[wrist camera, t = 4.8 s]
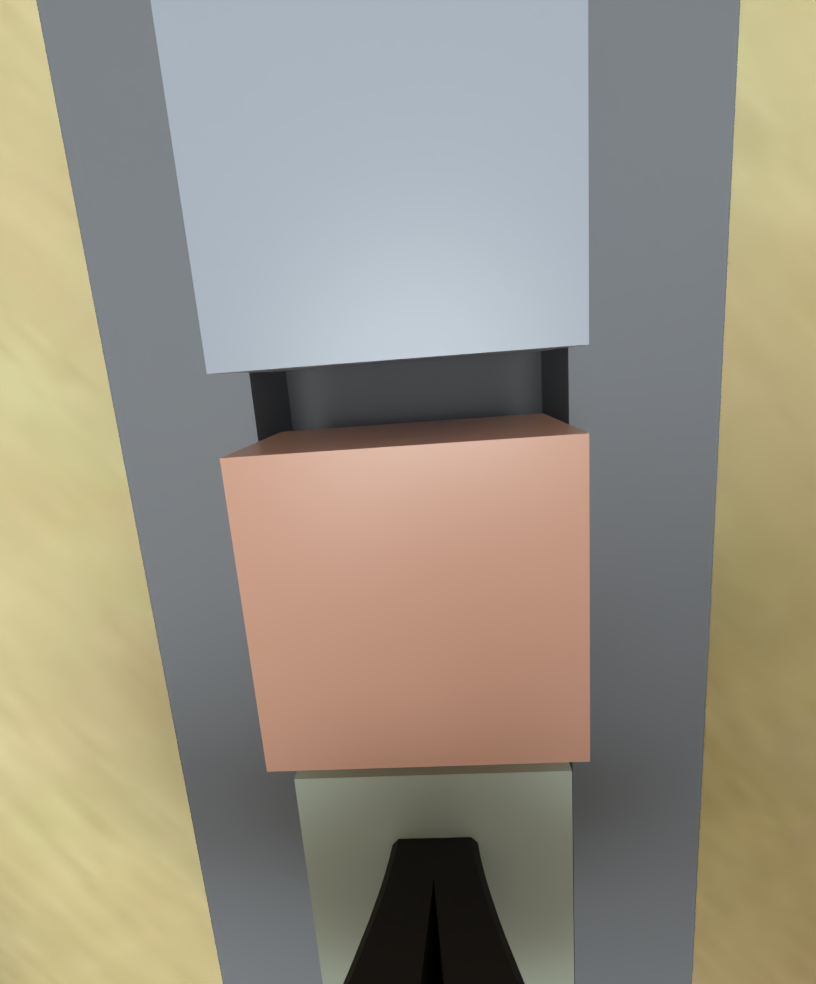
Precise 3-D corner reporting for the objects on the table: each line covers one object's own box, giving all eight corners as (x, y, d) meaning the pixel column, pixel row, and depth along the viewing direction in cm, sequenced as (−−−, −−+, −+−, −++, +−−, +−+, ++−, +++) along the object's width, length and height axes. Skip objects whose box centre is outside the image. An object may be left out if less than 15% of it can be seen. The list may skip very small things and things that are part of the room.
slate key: (535, 36, 8) (587, -137, 5) (542, 350, 9) (588, 344, 6) (236, 69, 8) (139, -76, 5) (274, 371, 9) (206, 373, 6)
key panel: (670, -81, 10) (751, -235, 7) (642, 1050, 15) (682, 1181, 13) (113, -12, 10) (11, -132, 8) (286, 1049, 16) (259, 1174, 13)
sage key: (539, 673, 11) (571, 771, 9) (543, 851, 12) (574, 990, 10) (327, 681, 12) (294, 779, 9) (347, 855, 13) (323, 991, 10)
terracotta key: (542, 413, 9) (589, 433, 6) (547, 654, 10) (590, 761, 7) (281, 431, 9) (219, 457, 7) (311, 664, 10) (267, 771, 8)
